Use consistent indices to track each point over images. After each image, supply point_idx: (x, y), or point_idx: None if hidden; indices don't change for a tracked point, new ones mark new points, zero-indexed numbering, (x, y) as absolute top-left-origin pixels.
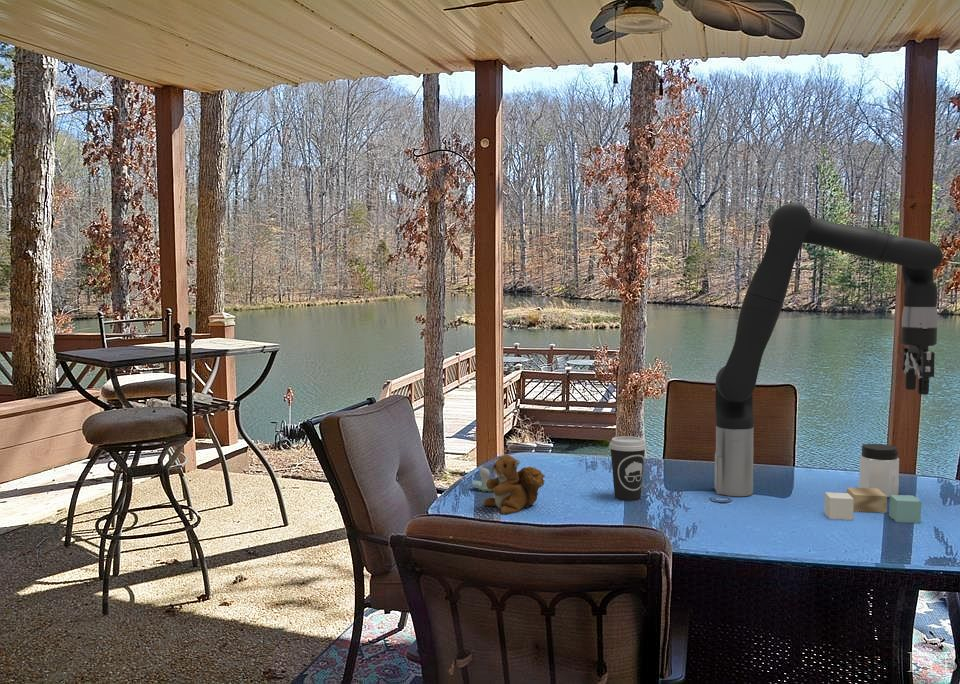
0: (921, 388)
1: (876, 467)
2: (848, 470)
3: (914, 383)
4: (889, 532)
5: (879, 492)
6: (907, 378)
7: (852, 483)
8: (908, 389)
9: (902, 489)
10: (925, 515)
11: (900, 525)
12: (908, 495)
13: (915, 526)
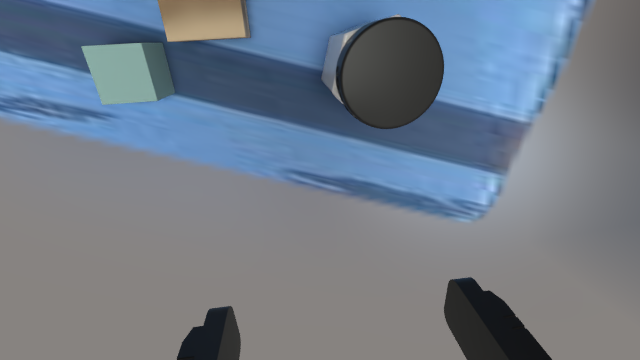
0: (182, 353)
1: (336, 54)
2: (567, 42)
3: (464, 348)
4: (8, 6)
5: (201, 30)
6: (496, 351)
7: (442, 22)
8: (448, 286)
9: None
10: (195, 119)
11: None
12: (153, 89)
13: None
